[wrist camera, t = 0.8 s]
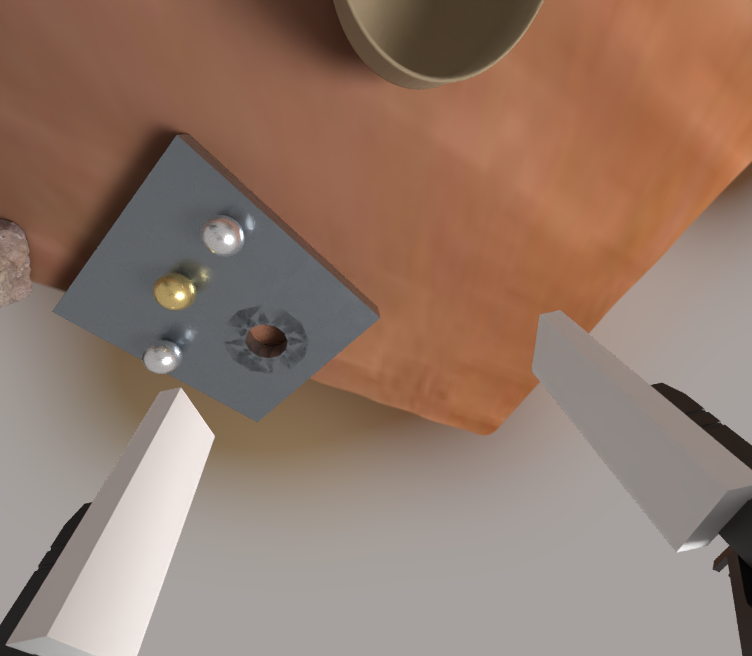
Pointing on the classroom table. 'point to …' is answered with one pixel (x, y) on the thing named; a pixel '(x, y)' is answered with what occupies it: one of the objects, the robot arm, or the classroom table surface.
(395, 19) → the bowl
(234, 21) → the classroom table surface
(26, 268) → the stone
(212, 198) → the plate
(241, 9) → the classroom table surface
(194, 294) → the brass ball
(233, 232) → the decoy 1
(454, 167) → the classroom table surface
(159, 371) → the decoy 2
